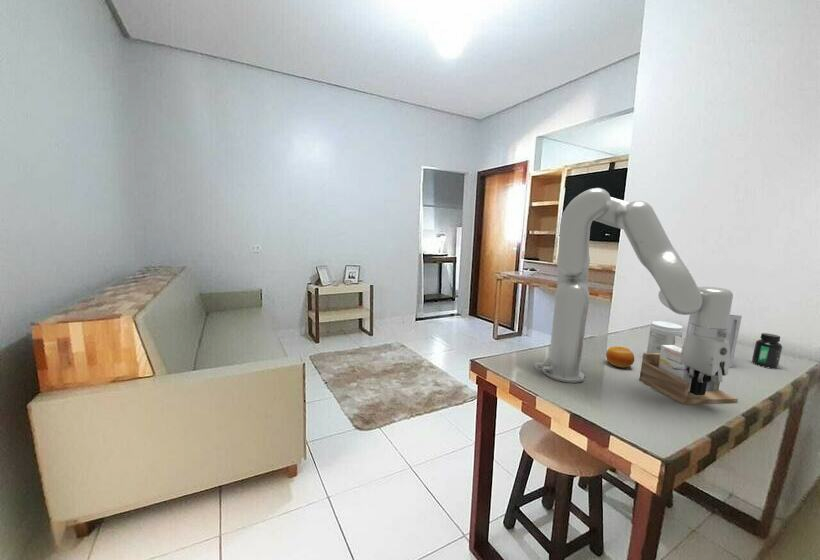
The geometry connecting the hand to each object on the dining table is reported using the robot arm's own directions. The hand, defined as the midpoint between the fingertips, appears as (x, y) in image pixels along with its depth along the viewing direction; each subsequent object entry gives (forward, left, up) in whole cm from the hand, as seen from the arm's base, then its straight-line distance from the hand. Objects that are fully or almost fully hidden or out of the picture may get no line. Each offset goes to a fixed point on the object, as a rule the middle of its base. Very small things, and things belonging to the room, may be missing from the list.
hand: (697, 393), depth 93 cm
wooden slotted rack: (+4, +7, -3) cm, 8 cm away
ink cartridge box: (0, +7, -2) cm, 7 cm away
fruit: (-3, +26, -3) cm, 26 cm away
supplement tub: (+17, +29, -3) cm, 34 cm away
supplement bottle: (+57, +25, -3) cm, 62 cm away
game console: (+44, +36, -3) cm, 57 cm away
